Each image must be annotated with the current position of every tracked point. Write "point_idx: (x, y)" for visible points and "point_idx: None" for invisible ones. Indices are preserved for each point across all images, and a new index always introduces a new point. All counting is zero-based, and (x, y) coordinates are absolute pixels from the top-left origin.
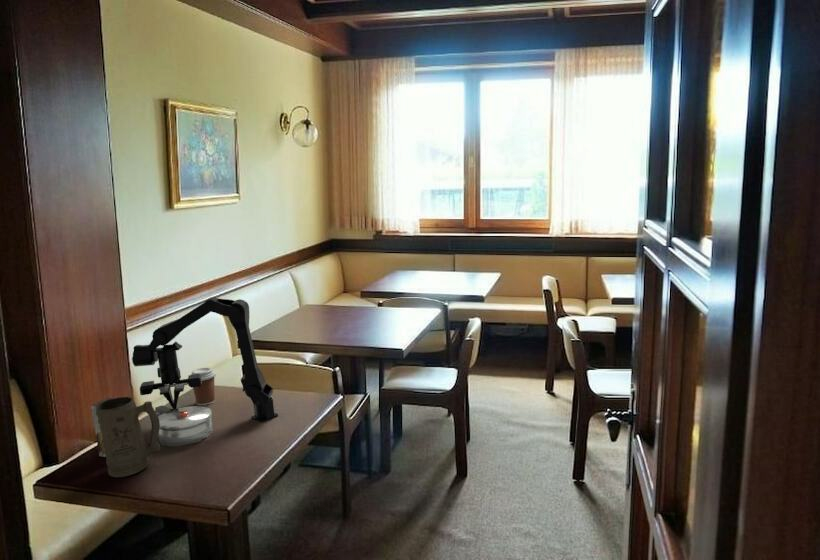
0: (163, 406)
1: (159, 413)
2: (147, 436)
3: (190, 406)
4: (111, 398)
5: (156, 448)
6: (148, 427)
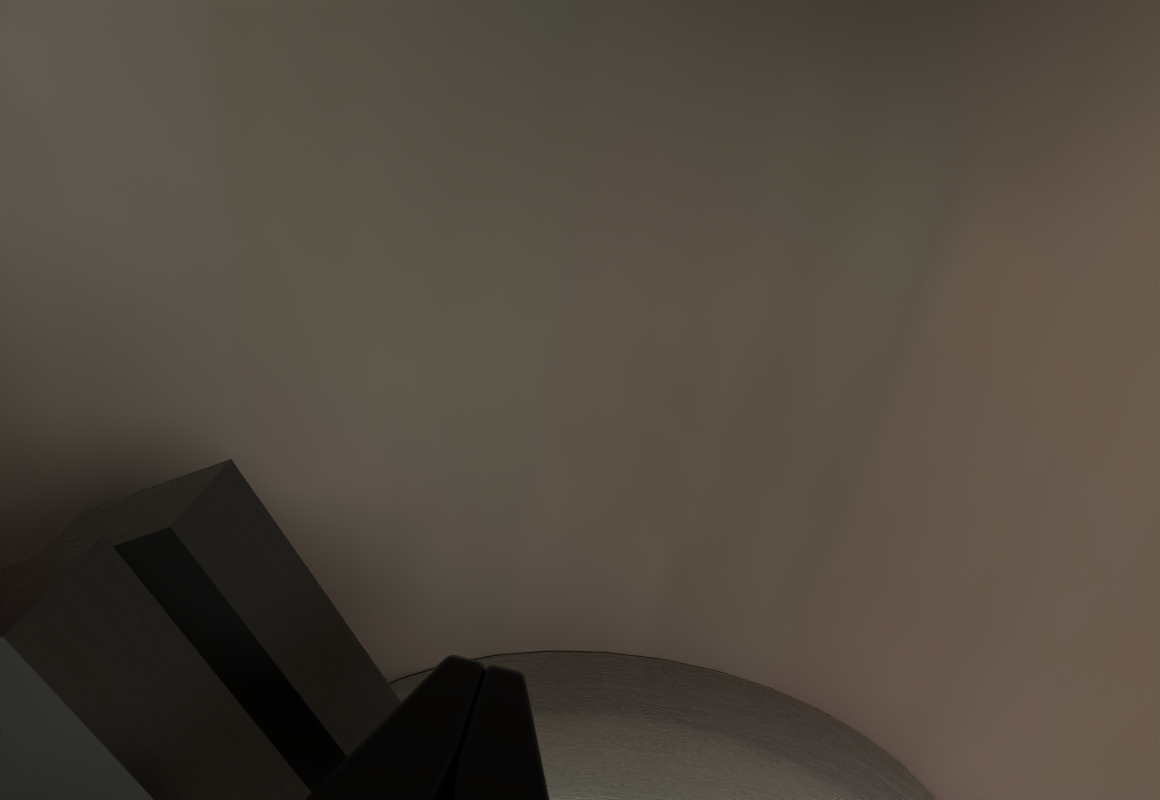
0: (90, 762)
1: None
2: None
3: None
4: None
5: None
6: (9, 286)
